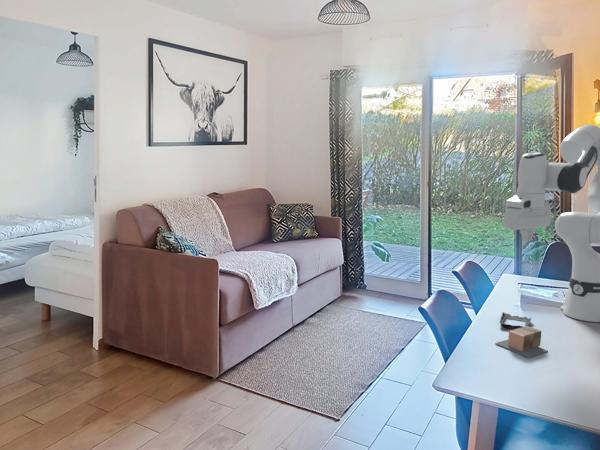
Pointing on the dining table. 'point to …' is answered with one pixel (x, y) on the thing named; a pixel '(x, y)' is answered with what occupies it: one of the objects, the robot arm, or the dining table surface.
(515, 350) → the charcoal mat
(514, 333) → the brown rectangular block
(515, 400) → the dining table surface
